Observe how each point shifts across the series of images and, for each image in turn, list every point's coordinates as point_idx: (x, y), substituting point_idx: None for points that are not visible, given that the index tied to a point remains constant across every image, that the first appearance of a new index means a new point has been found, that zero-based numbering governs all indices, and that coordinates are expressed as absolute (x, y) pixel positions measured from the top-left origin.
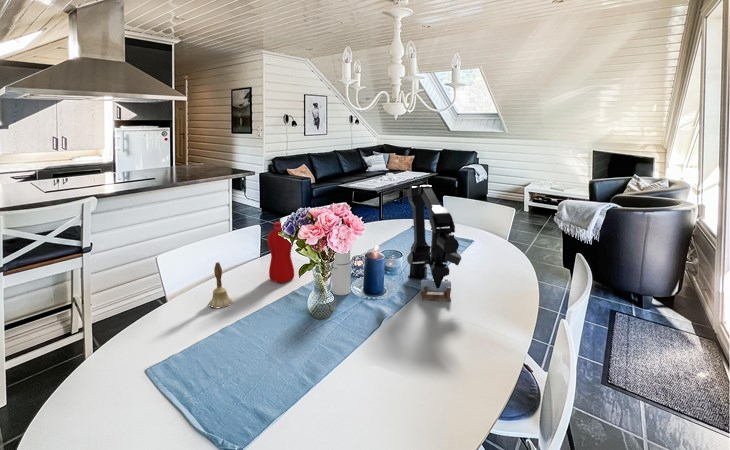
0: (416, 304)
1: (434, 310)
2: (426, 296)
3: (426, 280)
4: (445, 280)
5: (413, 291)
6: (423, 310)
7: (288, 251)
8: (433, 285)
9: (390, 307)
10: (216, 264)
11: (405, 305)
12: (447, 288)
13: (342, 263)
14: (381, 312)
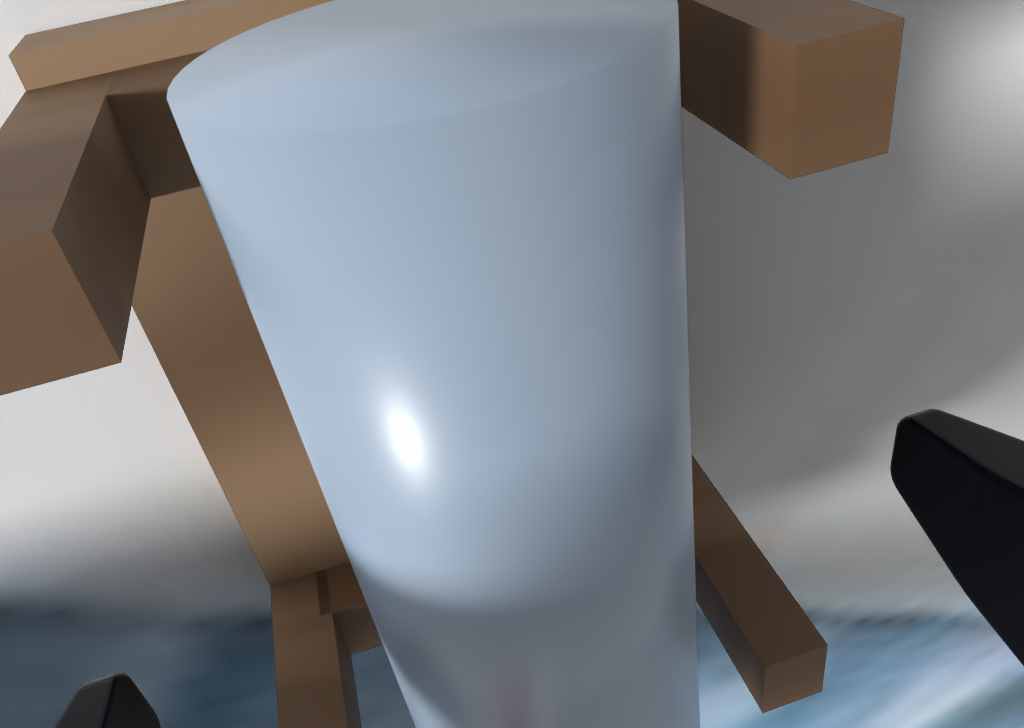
0: (813, 506)
1: (1020, 224)
2: (706, 477)
3: None
4: (110, 338)
5: (355, 673)
6: (997, 379)
7: None
8: (692, 566)
9: (886, 696)
10: None
11: (842, 603)
12: (853, 147)
13: None
14: (982, 710)
